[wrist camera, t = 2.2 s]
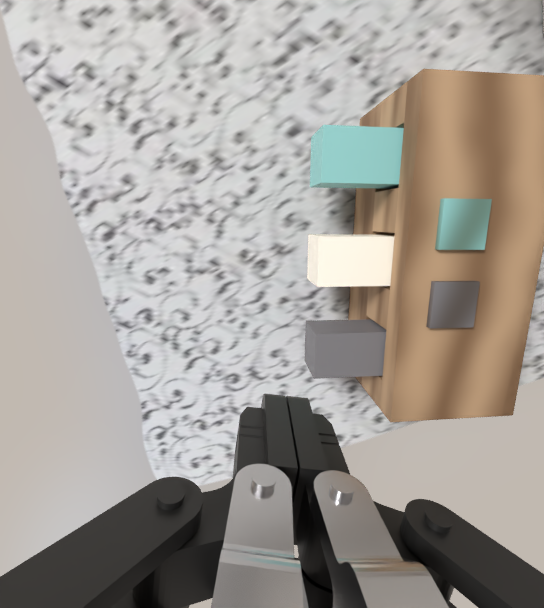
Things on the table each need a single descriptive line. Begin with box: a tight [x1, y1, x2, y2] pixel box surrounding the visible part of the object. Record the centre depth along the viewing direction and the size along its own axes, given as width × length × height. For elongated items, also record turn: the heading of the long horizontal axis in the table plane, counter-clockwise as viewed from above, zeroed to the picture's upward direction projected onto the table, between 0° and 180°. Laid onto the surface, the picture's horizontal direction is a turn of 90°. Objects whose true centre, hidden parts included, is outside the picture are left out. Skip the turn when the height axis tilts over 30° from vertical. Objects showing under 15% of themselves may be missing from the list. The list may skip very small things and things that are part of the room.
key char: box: [305, 319, 386, 379], centre depth 32 cm, size 10×4×4 cm, turn 90°
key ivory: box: [307, 234, 395, 287], centre depth 31 cm, size 10×4×4 cm, turn 90°
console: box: [348, 69, 544, 422], centre depth 33 cm, size 11×26×12 cm, turn 0°
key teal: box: [310, 125, 404, 189], centre depth 29 cm, size 10×4×4 cm, turn 90°
